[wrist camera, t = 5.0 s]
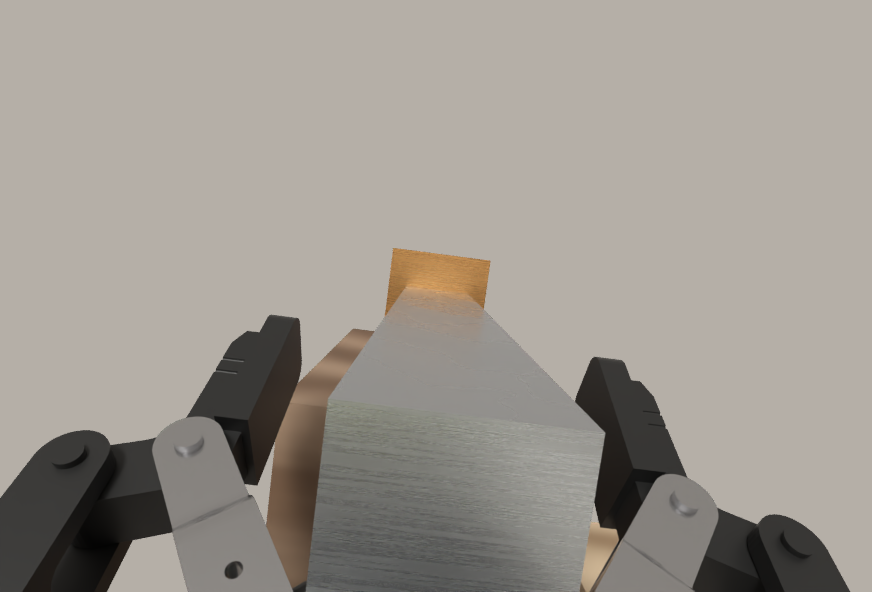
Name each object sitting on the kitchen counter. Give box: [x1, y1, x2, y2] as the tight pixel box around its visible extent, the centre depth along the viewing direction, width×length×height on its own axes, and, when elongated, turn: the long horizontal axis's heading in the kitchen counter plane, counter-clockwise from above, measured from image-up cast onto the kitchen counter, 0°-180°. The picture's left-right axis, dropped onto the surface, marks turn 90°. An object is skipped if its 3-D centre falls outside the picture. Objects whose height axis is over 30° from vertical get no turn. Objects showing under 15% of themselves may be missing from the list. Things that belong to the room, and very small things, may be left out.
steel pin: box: [306, 248, 605, 592], centre depth 19 cm, size 26×6×6 cm, turn 1°
